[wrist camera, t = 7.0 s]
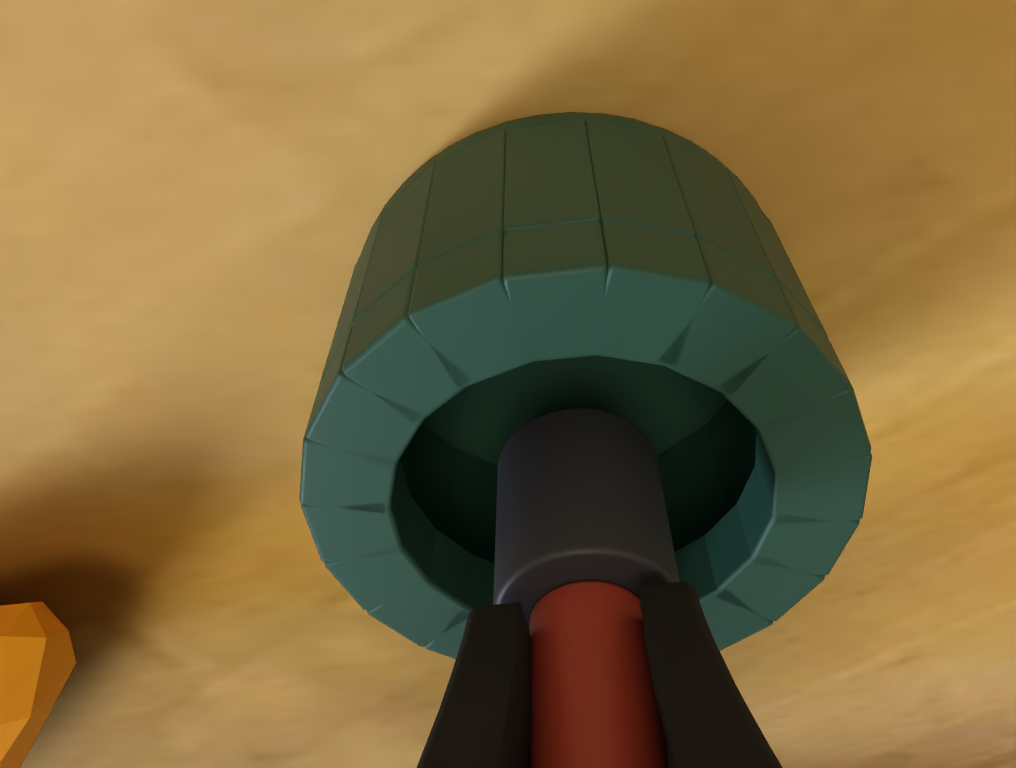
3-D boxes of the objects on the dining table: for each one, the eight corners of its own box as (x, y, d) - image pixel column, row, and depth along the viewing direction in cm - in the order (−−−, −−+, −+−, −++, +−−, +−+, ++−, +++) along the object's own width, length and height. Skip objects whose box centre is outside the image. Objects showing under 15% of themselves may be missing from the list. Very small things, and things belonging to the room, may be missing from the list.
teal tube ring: (875, 244, 17) (999, 430, 12) (627, 521, 21) (655, 728, 17) (476, 18, 14) (456, 149, 10) (293, 384, 19) (225, 584, 15)
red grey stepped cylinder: (689, 444, 14) (827, 1045, 8) (602, 541, 15) (658, 1119, 9) (548, 380, 13) (572, 986, 7) (470, 489, 15) (431, 1076, 8)
